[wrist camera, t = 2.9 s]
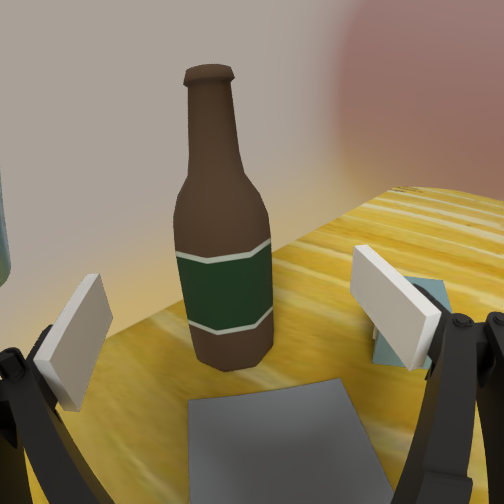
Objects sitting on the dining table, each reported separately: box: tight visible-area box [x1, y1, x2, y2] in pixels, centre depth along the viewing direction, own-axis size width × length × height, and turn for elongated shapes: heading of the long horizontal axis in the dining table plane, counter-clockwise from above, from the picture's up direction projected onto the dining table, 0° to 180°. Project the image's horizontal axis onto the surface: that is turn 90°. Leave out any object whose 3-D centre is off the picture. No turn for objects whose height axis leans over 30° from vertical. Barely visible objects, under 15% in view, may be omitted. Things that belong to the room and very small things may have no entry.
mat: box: [188, 378, 394, 504], centre depth 17 cm, size 12×12×1 cm
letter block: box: [372, 276, 452, 369], centre depth 25 cm, size 6×6×6 cm
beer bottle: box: [173, 64, 274, 372], centre depth 24 cm, size 8×8×24 cm
